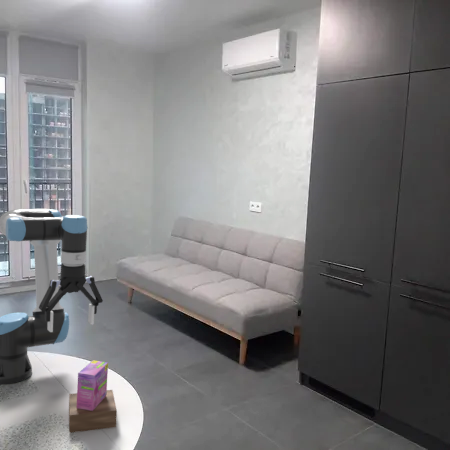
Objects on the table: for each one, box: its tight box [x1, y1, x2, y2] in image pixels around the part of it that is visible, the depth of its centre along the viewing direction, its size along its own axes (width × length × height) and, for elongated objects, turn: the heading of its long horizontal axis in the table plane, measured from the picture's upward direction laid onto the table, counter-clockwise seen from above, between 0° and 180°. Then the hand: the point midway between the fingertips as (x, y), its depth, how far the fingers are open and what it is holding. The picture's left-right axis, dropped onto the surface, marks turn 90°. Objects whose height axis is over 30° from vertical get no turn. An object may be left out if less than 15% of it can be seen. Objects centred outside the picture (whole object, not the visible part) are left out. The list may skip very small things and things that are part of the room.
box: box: [76, 359, 109, 411], centre depth 147 cm, size 10×6×12 cm, turn 170°
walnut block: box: [68, 389, 117, 433], centre depth 148 cm, size 14×14×6 cm
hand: (71, 327), depth 149 cm, fingers open, 13 cm apart
